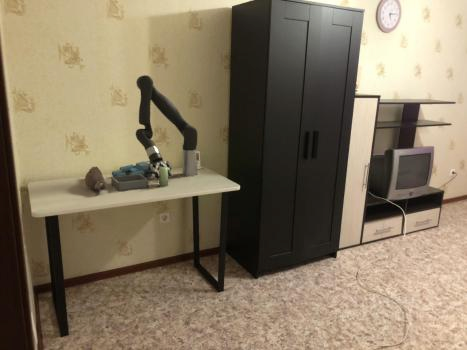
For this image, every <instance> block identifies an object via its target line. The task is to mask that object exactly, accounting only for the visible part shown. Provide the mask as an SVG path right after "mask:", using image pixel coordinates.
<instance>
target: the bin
mask: <svg viewBox="0 0 467 350" xmlns="http://www.w3.org/2000/svg"><path fill="white" fill-rule="evenodd" d="M111 186H112V187H113V188H115V190H117V191H118V192H125V191H132V190H141V189H148V188H149V179H148V178H147V177H146V178H145V177H144V176H142V175H141V174H136V175H127V176H118V177H113V176H112V177H111Z"/></svg>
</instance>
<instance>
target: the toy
mask: <svg viewBox="0 0 467 350" xmlns="http://www.w3.org/2000/svg"><path fill="white" fill-rule="evenodd" d="M149 163H150V164H151V162H150V160H146V161H144V160H143V161H139V162H136V163H135V165H134V164H128V165H125V166H120V167H119V169H117V170H114V171H111V175H112V177H118V176H127V175H136V174H141V175H142V176H144V177H145V178H146V179H147V178H149V177H153V175H154V174H153V173H152V174H151V173H150V171H149V169H148V164H149ZM152 168H153V171H154V167H153V166H152Z"/></svg>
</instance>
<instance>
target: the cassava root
mask: <svg viewBox="0 0 467 350" xmlns="http://www.w3.org/2000/svg"><path fill="white" fill-rule="evenodd" d="M84 182H85V186H86V187H87V188H89V189H90V190H95V191H105V190H106V189H107V184H106V179H105V178H104V176H103V174H102V170H101V169H100V168H99V167H98V166H91V168H90V169H89V171H87V173H86V174H85V178H84Z"/></svg>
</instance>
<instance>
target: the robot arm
mask: <svg viewBox="0 0 467 350" xmlns="http://www.w3.org/2000/svg"><path fill="white" fill-rule="evenodd" d="M135 83H136V87H137V89H138V90H140V91H139V92H140V104H139V108H138V124H139V125H142V126H144V128H138V129H136V130H135V137H136V139H137V141H138V142H139V143H140V144H141V145H142V147H144V150H145V152H146V155H147V158H148V159H149V160H150V162H151V164H150V162H148V169H149V171H150V173H151V174H152V173H153V175H154V177H155V178H156V179H157V180H159V172H158V171H159V168H160V167H167V168H168V178H171V177H172V172H171V170H172V169H173V167H172V165H171V163H170V162H169V160H166V161H164V158H163V157H162V154H161V152H160V150H159V149H158V147H157V145H156V143H155V141H154V140H153V136H154V135H153V134H154V132H153V129H152V124H151V123H152V122H151V105H152V104H154V106H155V107H156V108H157V109H158V110H159V112H160V113H161V114H162V115H163V116H164V117H165V118H166V119H167V120H168V121H169V122H170V123H172V125H174V126H175V128H176V129H177V130H178V131H179V133H180V135H181V136H182V137H183V144H182V175H183V176H187V177H189V176H190V177H191V176H192V177H193V176H196V175H198V159H197V147H198V130H197V128H196V127H195V126H192V125H191V124H190V123H189V122H187V120H185V119H184V118H183V116H182V115H181V113H180V112H179V110H178V108H177V107H176V106H175V105H174V103H173V102H172V101H171V100H170V99H169V98H167V97H166V96H165V95H164V94H162V93H161V92H160V91H159V90H158V89H157V88H156V87H155V85H154V81H153V78H152V77H151V76H149V75H145V74H144V75H141V76H139V77H138V78H137V79H136V82H135ZM151 102H152V104H151ZM149 160H148V161H149ZM152 166H153V168H152ZM153 169H154V171H153Z"/></svg>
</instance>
